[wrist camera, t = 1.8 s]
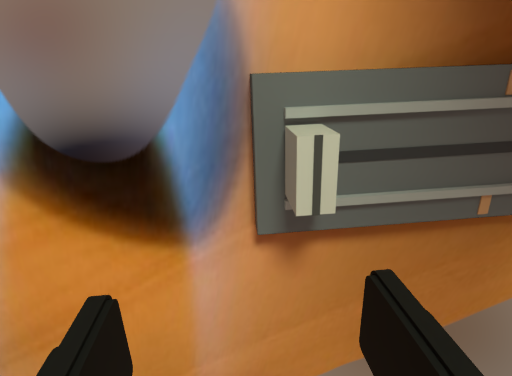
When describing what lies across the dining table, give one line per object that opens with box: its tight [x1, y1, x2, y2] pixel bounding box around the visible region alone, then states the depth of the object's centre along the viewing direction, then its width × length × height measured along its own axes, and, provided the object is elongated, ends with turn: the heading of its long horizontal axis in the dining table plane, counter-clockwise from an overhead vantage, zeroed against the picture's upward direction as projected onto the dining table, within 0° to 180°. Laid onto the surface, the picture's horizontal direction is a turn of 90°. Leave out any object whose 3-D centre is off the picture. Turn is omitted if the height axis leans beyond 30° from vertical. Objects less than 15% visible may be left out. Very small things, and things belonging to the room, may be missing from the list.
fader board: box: [250, 64, 512, 235], centre depth 29 cm, size 14×28×3 cm, turn 92°
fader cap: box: [285, 124, 340, 216], centre depth 25 cm, size 6×3×4 cm, turn 2°
